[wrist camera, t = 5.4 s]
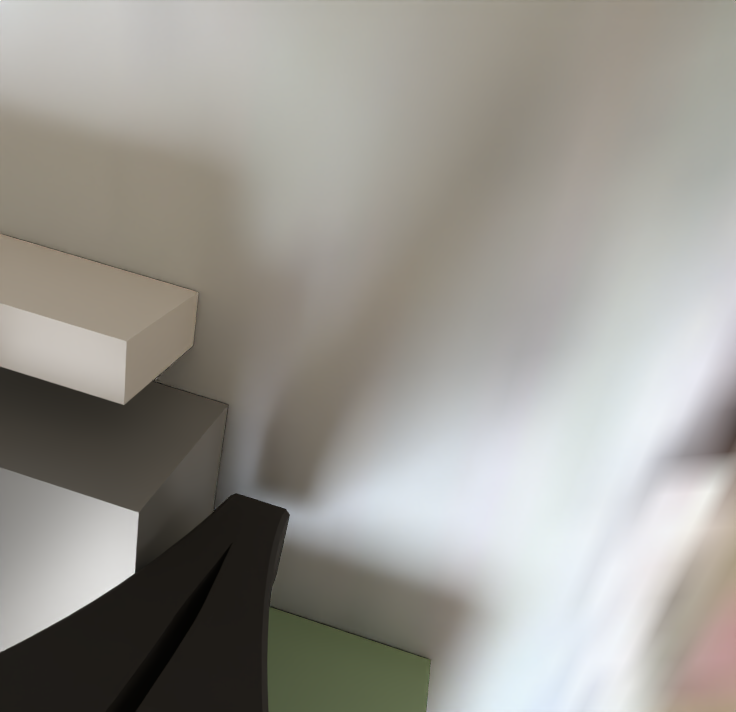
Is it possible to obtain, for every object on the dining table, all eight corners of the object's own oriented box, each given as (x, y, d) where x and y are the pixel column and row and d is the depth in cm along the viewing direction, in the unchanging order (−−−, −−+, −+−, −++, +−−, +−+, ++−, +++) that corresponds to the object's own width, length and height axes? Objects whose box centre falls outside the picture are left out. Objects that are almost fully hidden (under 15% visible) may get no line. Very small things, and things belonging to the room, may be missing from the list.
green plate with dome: (547, 394, 11) (587, 576, 7) (350, 843, 18) (312, 1052, 14) (-210, 171, 12) (-576, 211, 8) (-95, 685, 19) (-245, 839, 15)
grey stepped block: (228, 404, 12) (92, 569, 8) (204, 568, 14) (88, 764, 10) (-69, 313, 12) (-349, 421, 8) (-47, 485, 15) (-259, 640, 10)
